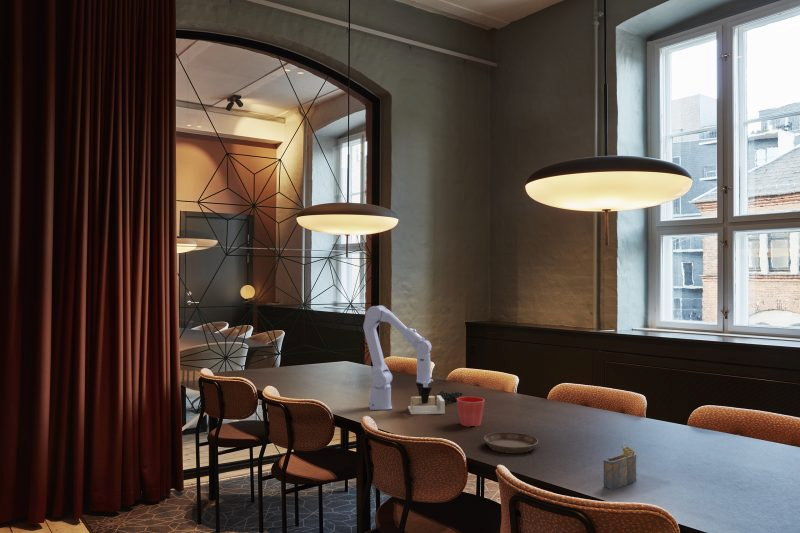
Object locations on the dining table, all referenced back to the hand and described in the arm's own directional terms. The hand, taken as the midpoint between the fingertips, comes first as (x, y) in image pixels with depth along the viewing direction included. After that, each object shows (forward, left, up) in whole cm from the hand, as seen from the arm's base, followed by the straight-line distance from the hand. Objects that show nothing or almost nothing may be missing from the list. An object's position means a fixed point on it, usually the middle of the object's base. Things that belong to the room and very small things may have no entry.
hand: (423, 401), depth 258 cm
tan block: (0, 0, -3) cm, 3 cm away
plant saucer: (+22, -57, -4) cm, 61 cm away
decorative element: (+12, +14, -5) cm, 19 cm away
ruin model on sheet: (+42, -95, -5) cm, 104 cm away
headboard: (+1, 0, -4) cm, 4 cm away
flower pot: (+15, -25, -4) cm, 29 cm away
